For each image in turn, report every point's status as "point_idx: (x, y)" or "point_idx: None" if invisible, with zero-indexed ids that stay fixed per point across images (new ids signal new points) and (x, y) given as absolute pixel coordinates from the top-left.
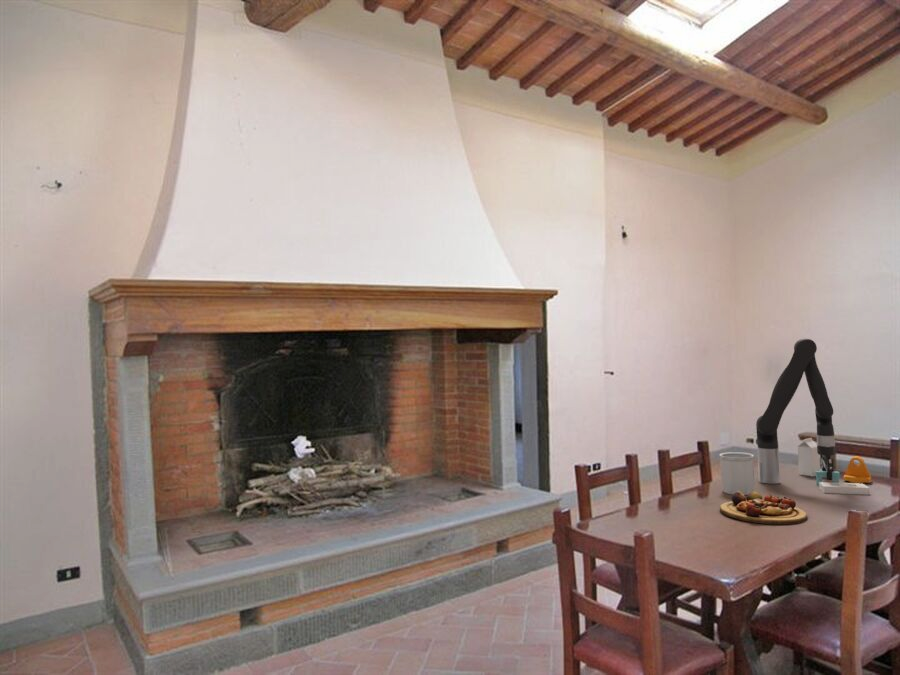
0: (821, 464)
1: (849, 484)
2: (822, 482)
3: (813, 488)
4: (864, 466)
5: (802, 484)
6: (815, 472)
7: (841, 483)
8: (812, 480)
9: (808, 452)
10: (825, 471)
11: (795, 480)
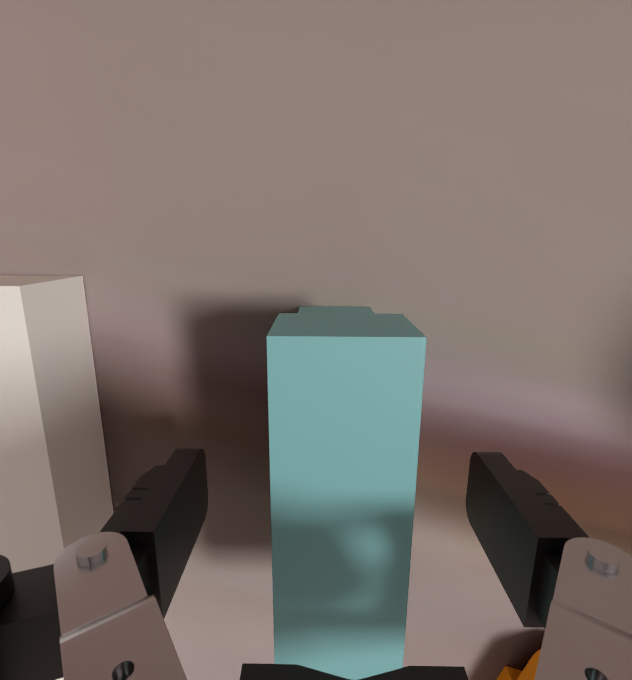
0: (548, 623)
1: None
2: (4, 336)
3: (63, 200)
4: None
5: (313, 96)
6: (335, 330)
7: (23, 567)
8: (614, 308)
9: None
10: (363, 538)
11: (615, 44)
